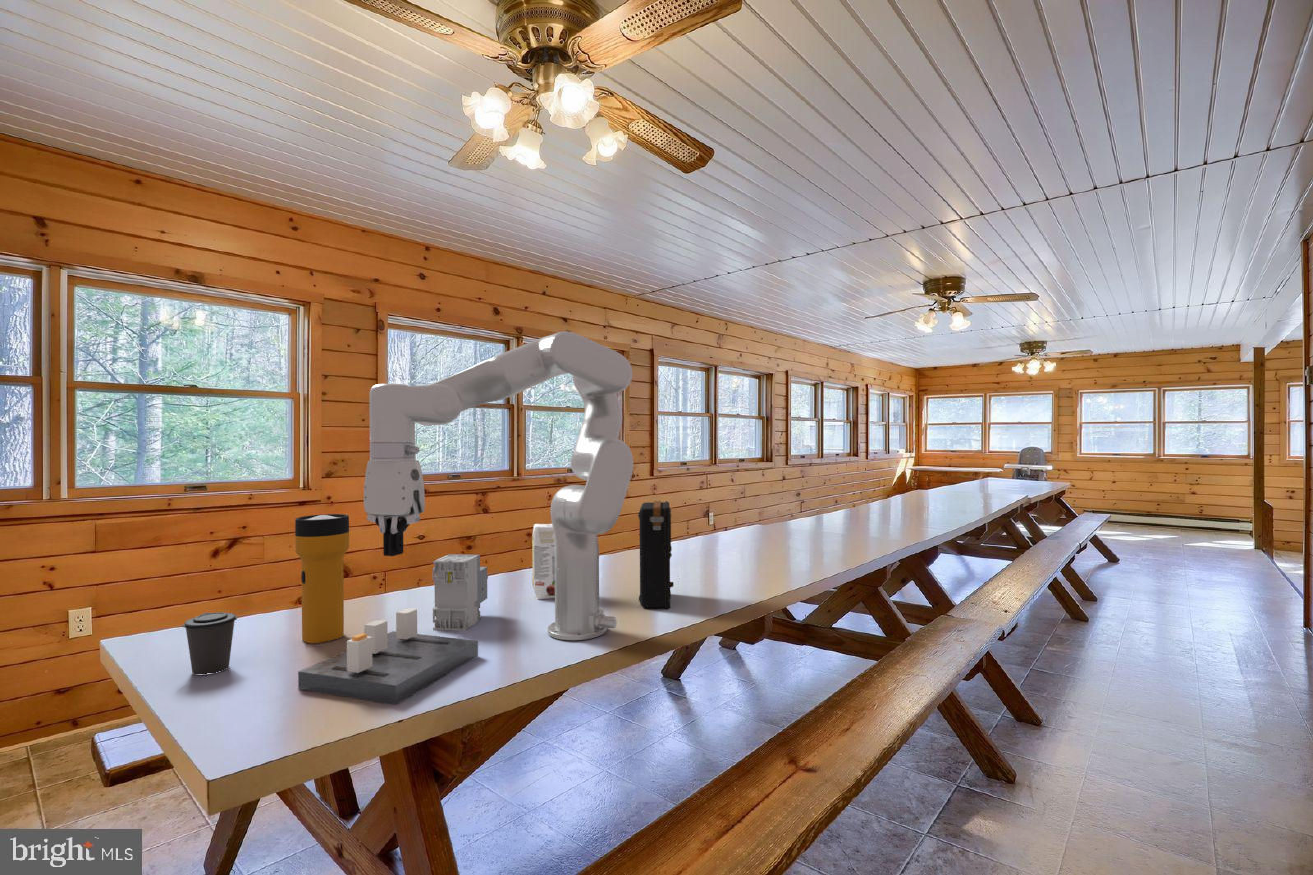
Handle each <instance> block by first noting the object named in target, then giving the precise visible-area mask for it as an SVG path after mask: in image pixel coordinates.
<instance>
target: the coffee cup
mask: <svg viewBox="0 0 1313 875" xmlns="http://www.w3.org/2000/svg"><path fill="white" fill-rule="evenodd" d="M237 619H238V616H237V615H236V614H235V613H231V612H223V611H221V612H205V613H202V614H200V615H198V616H195V617H192V618H190V619H187V620H185V621H184V623H183V624H182V627H183V628H184V629H185V631H186V632H185V633H186V637H187V638H186V639H187V644H188V651H189V653H188V654H189V658H190V659H189V660H190V665H191V671H192V674H193V673H194V674H207V673H215V674H217V673H216V672H218V673H220V672H219V671H221V672H223V671H222V670H224V669H226V668H227V669H229V666H230V661H231V652H232V645H233V637H234V627H235V622H236V620H237ZM227 669H226V670H227ZM224 671H225V670H224Z"/></svg>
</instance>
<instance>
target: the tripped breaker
mask: <svg viewBox="0 0 1313 875" xmlns="http://www.w3.org/2000/svg"><path fill="white" fill-rule="evenodd" d="M346 651H347V671H349V672H356V673H359V672H362V671H364V670H366V669H368V668H370V667H372V637H370V636H367V634H364V633H362V632H361V633H358V634H356V635H355V634H354V635H353V636H352V637H351V639H348V640H347V641H346Z"/></svg>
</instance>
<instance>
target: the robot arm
mask: <svg viewBox="0 0 1313 875" xmlns="http://www.w3.org/2000/svg"><path fill="white" fill-rule="evenodd" d="M567 374H569V375H571V376H572V382H573V385H574V387H575V389H576V390H577V392H578V394H579V395H580V398H581V399H582V402H583V406H584V413H583V414H584V415H583V420H582V424H581V426H580V431H579V433H578V436H577V438H576V443H575V445H574V448H573V450H572V451H573V452H572V454H571V459H570V468H571V471H572V472H573V475H575V476H576V477H577V478H579V479H581V480H584V481H585V482H586V483H585V485H582V484H581V485H580V484H571V485H566V486H564V487H562V488H560V489H559V490H558V491H556V493H555V494H554V495H553V497H552V500H551V504H550V519H551V524H552V526H553V532H554V543H555V598H554V622H552V623H551V624H549V625H548V626H547V634H548V635H549V636H550V637H552V638H554V639H557V640H561V641H562V640H563V641H583V640H590V639H591V640H592V639H594V638H595V639H596V638H597V637H600V636H602V635H604V634H606V632H607V630H608V629H616V628H617V623H618V622H617V621H618V620H617V619H616V616H613V615H612V616H611V615H606V614H605V613H604V612H605V611H604V608H600V546H599V545H600V544H599V539H598V535H603V534H606V533H607V532H609V531H611V529H612V528H613V527H614V526H615V524H616V523H617V521H618V519H619V517H620V515H621V512H622V507H623V505H624V502H625V498H626V495H627V492H628V489H629V486H630V482H631V479H632V474H633V470H634V458H633V453H632V450H631V448H630V447H629V445H627V443H625V441H623V440H621V439H619V436H620V431H621V429H622V428H621V427H622V424H623V411H622V405H621V403H620V400H619V397H618V395H617V394H619V393H620V392H622V391H625V390H626V389H627V388H628V387H629V385H630V384H631V383H632V380H633V369H632V364H630V361H629V360H628V359H627V358H626V357H625V356H624V355H623V354H621V353H620V352H618V351H616V350H614V349H612V348H609V347H607V346H604V345H602V344H600V343H598V342H597V341H594V340H592V339H589V338H587V337H585V336H583V335H580V334H577V333H576V332H571V331H567V330H565V331H559V332H555V333H553V334H550V335H547V336H543V337H540V338H538V339H535V340H532V341H530V342H528V343H525V344H523V345H520V346H518V347H515V348H513V349H510V350H508V351H505V352H503V353H500V354H497V355H495V356H493V357H489V358H488V359H485V360H483V361H481V362H479V363H477V364H475V365H473V366H471V367H469V368H467V369H464V370H462V371H460V372H457V373H455V374H453V375H451V376H448V377H445V378H443V379H440V380H438V381H435V382H433V383H430V384H426V385H407V384H401V383H378V384H375V385H373V386H372V387H371V388H370V390H369V460H367V465H366V468H365V469H366V470H365V474H364V476H365V477H364V486H363V508H364V512H365V513H366V514H367V516H366V520H367V521H368V522H371V523H374V524H376V525H377V526H378V528H379V532H380V533H381V534H383V536H382V537H383V538H382V539H383V540H382V541H383V544H382V545H383V549H382V550H383V552H382V553H383V554H382V555H383V556H384V557H394V556H395V557H396V556H399V555H402V554H403V553H404V533H405V532H406V531H407V530H408V527H409V526H410V525H411V524H415V523H419V522H420V520H421V516H420V515H421V514H423V513H424V512H425V509H426V508H425V507H426V500H425V499H426V498H425V496H426V495H425V484H424V483H425V482H424V477H423V470H422V465H421V463H420V459H416V455H417V454H419V453H420V448H419V446H416V423H417V424H418V425H422V426H426V427H427V426H442V425H447V424H450V423H452V422H453V421H455V420H456V419H457V418H458V417H459V416H460V414H461V413H462V412H464V411H466V410H469V409H472V408H474V407H477V406H480V405H483V404H484V405H485V404H488V403H493V402H498V401H502V400H504V399H507V398H510V397H513V396H515V395H517V394H520V393H523V392H524V391H526V390H528V389H531V388H532V387H536V386H537V385H539V384H542V383H544V382H546V381H549V380H551V379H552V378H555V377H556V378H557V377H558V376H560V375H567Z"/></svg>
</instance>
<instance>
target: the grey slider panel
mask: <svg viewBox="0 0 1313 875" xmlns="http://www.w3.org/2000/svg"><path fill="white" fill-rule="evenodd" d="M387 636H388V648H387V649H385V650H383V651H380V652H378V653H376V654H373V653H372V667H370V668H368V669H366V670H364V671H362V672H359V673H356V672H349V671H347V650H345V651H343V652H341V653H339V654H336V655H334V656H331V657H329V658H326V659H324V660H322V661H319V662H318V663H315V664H312V665H310V666H307V667H305V668H303V669H300V670H299V671H298V672H297V674H298V678H297V680H298V681H297V682H298V683H297V684H298V685H297V686H298V687H297V689H298V690H300V689H301V690H300V691H308V692H313V691H315V692H314V693H319V694H327V695H332V696H339V697H344V696H346V697H345V698H351V697H352V699H357V698H358V699H359V700H364V701H370V702H377V703H382V704H390V705H398V704H400V703H401V702H403V701H405V700H406V699H408V698H410V697H411V696H413V695H415V694H416V693H418V692H420V691H422V690H424V689H425V688H427V687H428V686H430V685H432V684H433V683H436V681H439V680H441V679H443V677H446V676H448V675H449V674H450V673H452V672H454V671H456V670H457V669H459V668H461V667H462V666H465V665H466V664H467V663H469V662H471V661H473V660H474V659H477V658H478V657H479V641H478V640H474V639H465V638H456V637H447V636H439V635H431V634H419V633H417V635H415V636H413V637H411V638H409V639H398V638H396V630H395V631H394V630H393V631H390V632H387Z"/></svg>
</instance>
